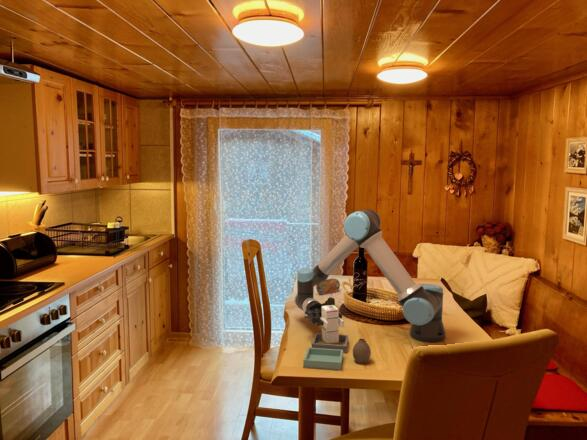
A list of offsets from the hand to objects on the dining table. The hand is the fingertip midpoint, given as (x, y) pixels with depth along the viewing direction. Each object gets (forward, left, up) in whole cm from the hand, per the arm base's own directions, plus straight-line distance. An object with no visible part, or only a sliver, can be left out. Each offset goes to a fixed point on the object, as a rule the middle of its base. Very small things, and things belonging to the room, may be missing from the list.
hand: (335, 325), depth 194 cm
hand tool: (+9, -53, -11) cm, 55 cm away
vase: (-11, +8, -11) cm, 18 cm away
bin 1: (+2, -4, -11) cm, 12 cm away
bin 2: (+3, +12, -11) cm, 16 cm away
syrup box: (+2, -4, -9) cm, 10 cm away
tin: (+11, -82, -11) cm, 84 cm away
